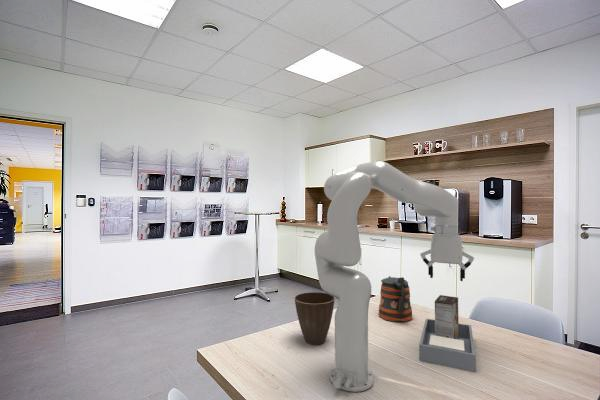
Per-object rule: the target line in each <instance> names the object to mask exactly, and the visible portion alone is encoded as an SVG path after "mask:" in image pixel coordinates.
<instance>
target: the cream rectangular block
mask: <svg viewBox="0 0 600 400" xmlns="http://www.w3.org/2000/svg"><path fill="white" fill-rule="evenodd" d="M429 346H434V347H440V348H445V349H450V350H456V351H461V352H465V351H464V340H458V339H452V338H446V337H440V336H435V335H431V337H430V342H429Z"/></svg>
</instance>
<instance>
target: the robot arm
mask: <svg viewBox="0 0 600 400" xmlns="http://www.w3.org/2000/svg"><path fill="white" fill-rule="evenodd" d="M371 189H375V190H377V191H380V192H381V193H384V194H385V195H387V196H389V197H391V198H392V199H394V200H395V201H397V202H401V203H404V204H410V205H413V209H414V211H415V212H416V214H418V215H419V216H423V217H433V218H434V226H430V231H432V232H434V233H433V234H432V236H431V241H430V249H428V250H425V251H423V252H421V253H420V258H421V259H422V261H423V262H424V263H425V264H426V266H427V267H428V276H429V277H430V279H433V278H434V266H433V265H434V264H435V263H436V264H437V263H438V264H448V265H449V264H451V265H458V266H459V267H460V269H459V271H460V272H459V279H460V281H461V282H464V281H463V280H464V279H466V270H467V268H468V267H470V266H471V265H472V263H473V261H474V259H475V257H474V256H473V255H470V254H469V253H467V252H465V251H463V242H462V236H461V234H459V199H458V198H457V196H455V195H453V194H452V193H451V192H449V191H448V190H446V189H445V188H443V187H442V186H441V187H440V186H438V185H436V184H433V183H429V182H425V181H423V180H419V179H416V178H414V177H410V176H409V175H407V174H406V173H404V172H403V171H401V170H399V169H397V168H396V167H394V166H393V165H391V164H390V163H388V162H386V161H383V160H376V161H371V162H363V163H359V164H358V165H355V166H353V167H349V168H346V169H345V170H342V171H340V172H337V173H335V174H332V175H330V176H329V177H328V178H327V179H326V180H325V183H324V186H323V191H324V194H325V196H326V198H328V199H329V200H330V201H331V202H330V204H329V206H328V208H327V213H326V214H327V215H326V216H327V217H326V219H327V220H326V221H327V231H324V232H322V233H321V234H320V235H319V236H318V237H317V238H316V240H315V244H314V257H315V265H316V270H317V271H316V273H317V277H318V282H319V285H320V288H321V289H322V290H323V293H327V294H329V295H331V296H333V297H334V298H335V299H338V300H339V301H338V306H337V308H336V309H335V314H334V367H333V368H332V369H331V370H330V371H329V380H330V382H331V383H332V385H333V387H334V388H335V389H340V390H342V391H347V392H355V393H357V392H364V391H367V390H369V389H371V388H372V386H374V382H375V380H374V379H375V378H374V374H373V372H371V371H370V370H369V305H370V300H371V296H372V283H371V280H370V279H369V277H368V276H367V275H366V274H364V273H363V272H362V271H359V270H356V269H353V268H350V267H354V266H356V265H358V264H359V262H360V260H361V259H362V248H361V240H360V233H359V232H360V231H359V227H358V226H359V225H358V213H359V209H360V207H361V205H362V204H363V202H364V201H365V200H366V198H367V197H368V196H369V195H370V193H371ZM427 255H430V260H428V258H427ZM463 257H465V258H466V259H468V260H467V261H466V262H465V263H463Z"/></svg>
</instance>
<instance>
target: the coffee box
mask: <svg viewBox="0 0 600 400" xmlns="http://www.w3.org/2000/svg"><path fill="white" fill-rule="evenodd" d="M434 320H435V336H440V337H446V338H452V339H458V340H459V323H460V322H459V297H458V296H457V297H456V296H448V295H442V294H440V295H439V296H438V297H437V298H436V299H435V300H434Z"/></svg>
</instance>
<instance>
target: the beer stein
mask: <svg viewBox="0 0 600 400" xmlns="http://www.w3.org/2000/svg"><path fill="white" fill-rule="evenodd" d="M380 282H381V286H380V290H379V291H380V292H379V293H380V303H379V305H378V316H379V318H381V319H383V320H386V321H389V322H398V323H403V322H409V321H412V320H413V311H412V310H413V308H412V306H411V292H410V291H411V289H410V286H409V282H408V280H406V279H405V277H403V276H402V277H394V276H393V277H392V276H390V275H389V276H388V277H385V278H383V279H381V280H380Z"/></svg>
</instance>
